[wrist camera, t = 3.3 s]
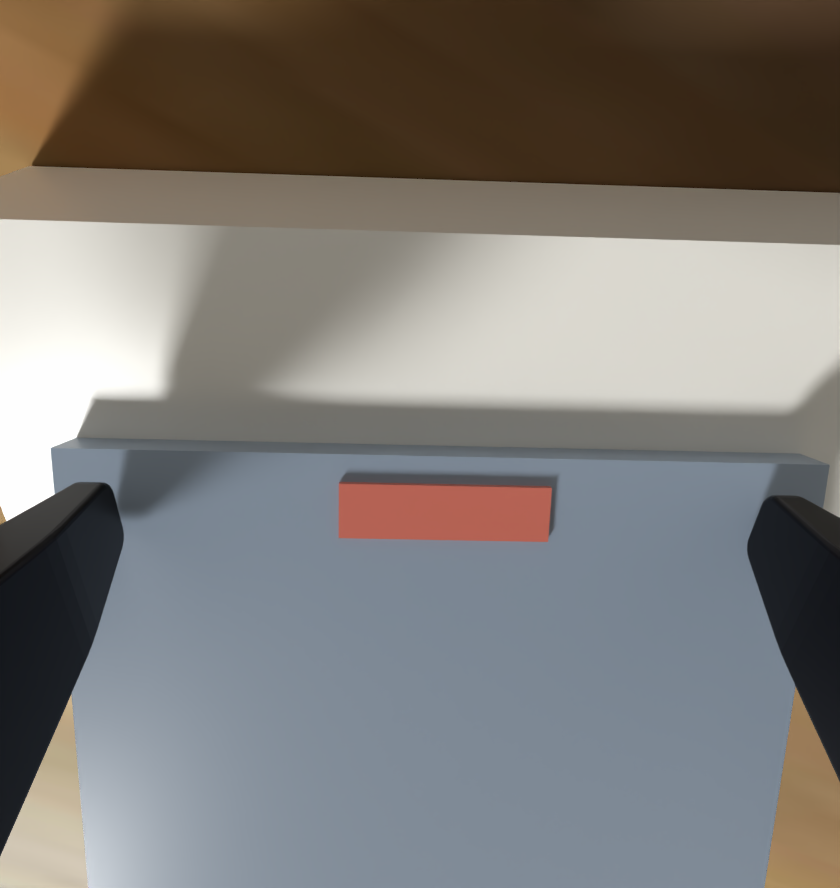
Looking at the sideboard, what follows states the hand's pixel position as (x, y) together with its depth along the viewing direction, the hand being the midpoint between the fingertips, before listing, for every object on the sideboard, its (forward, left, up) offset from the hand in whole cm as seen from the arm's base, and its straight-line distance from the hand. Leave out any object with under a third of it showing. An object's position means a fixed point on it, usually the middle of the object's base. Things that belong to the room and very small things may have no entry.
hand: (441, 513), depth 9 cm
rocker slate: (0, +4, 0) cm, 4 cm away
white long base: (0, +9, -5) cm, 10 cm away
